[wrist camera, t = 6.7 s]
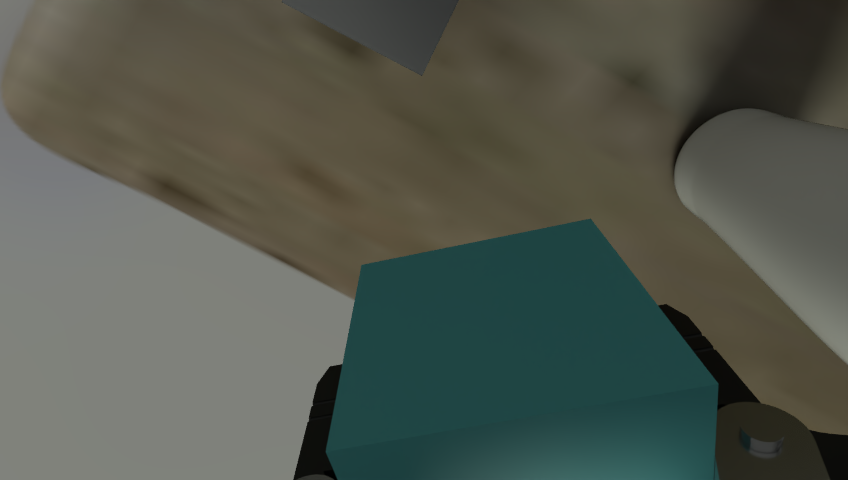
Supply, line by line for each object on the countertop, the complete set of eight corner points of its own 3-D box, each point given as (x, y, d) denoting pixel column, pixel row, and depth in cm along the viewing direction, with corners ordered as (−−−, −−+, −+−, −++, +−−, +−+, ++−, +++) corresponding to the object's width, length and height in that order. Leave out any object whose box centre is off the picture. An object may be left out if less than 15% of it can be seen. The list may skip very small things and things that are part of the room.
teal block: (361, 265, 11) (325, 452, 7) (590, 218, 11) (718, 384, 6) (412, 428, 13) (411, 651, 9) (604, 394, 13) (706, 610, 8)
